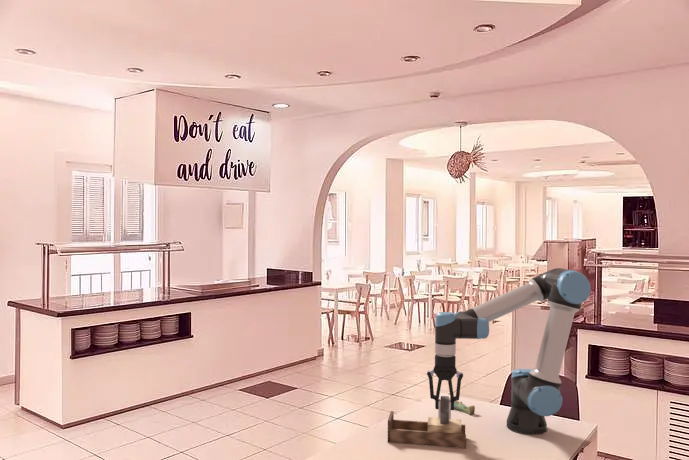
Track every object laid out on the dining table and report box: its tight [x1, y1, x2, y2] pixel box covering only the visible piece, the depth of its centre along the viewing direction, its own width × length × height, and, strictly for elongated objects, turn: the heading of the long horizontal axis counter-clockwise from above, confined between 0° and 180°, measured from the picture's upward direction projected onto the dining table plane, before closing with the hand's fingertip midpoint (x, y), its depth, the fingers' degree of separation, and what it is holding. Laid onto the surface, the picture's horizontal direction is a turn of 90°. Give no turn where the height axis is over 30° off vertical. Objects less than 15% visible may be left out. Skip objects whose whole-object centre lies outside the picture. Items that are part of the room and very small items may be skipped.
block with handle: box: [427, 395, 462, 434], centre depth 206 cm, size 12×8×15 cm
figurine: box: [449, 397, 476, 416], centre depth 242 cm, size 6×15×4 cm, turn 22°
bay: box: [387, 410, 467, 450], centre depth 207 cm, size 28×11×8 cm, turn 79°
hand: (444, 418), depth 206 cm, fingers closed on block with handle, 3 cm apart
